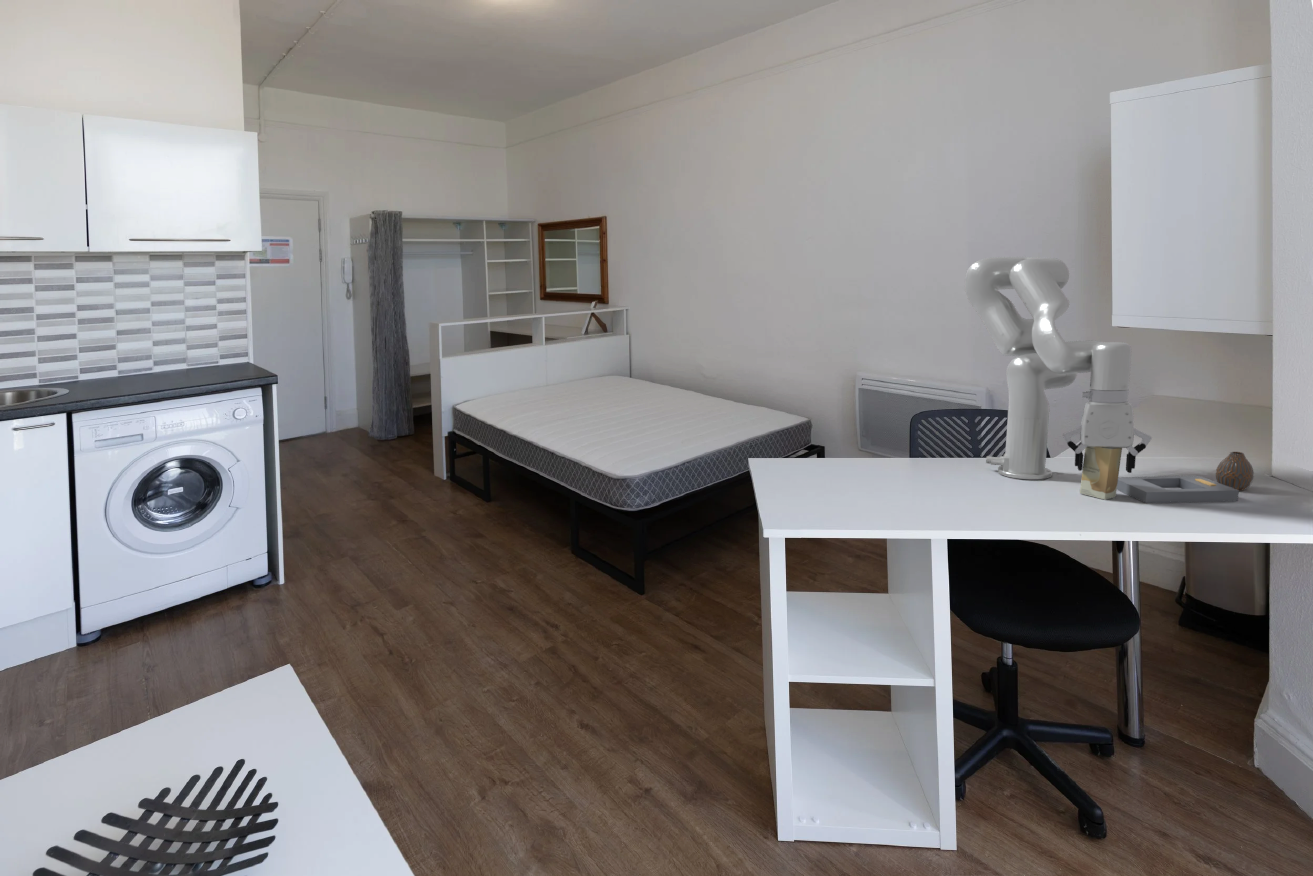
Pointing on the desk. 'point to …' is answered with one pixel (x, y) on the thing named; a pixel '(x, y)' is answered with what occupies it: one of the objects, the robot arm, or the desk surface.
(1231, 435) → the desk surface
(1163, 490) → the socket dock
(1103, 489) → the skincare box
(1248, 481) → the vase
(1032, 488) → the desk surface
